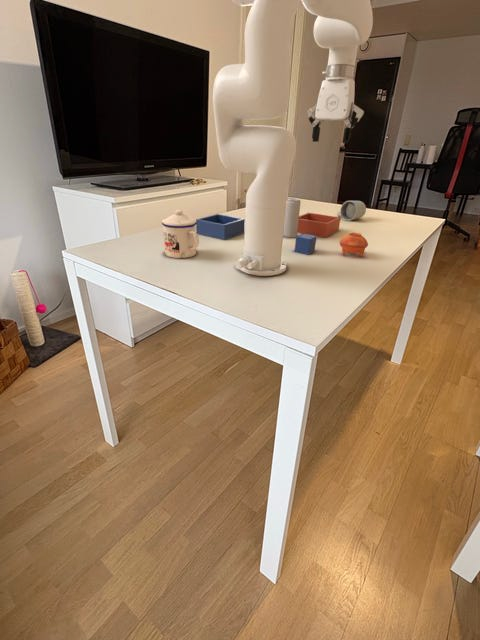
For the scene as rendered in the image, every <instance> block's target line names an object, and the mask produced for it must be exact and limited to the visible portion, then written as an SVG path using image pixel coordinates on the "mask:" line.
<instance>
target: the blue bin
mask: <svg viewBox="0 0 480 640" xmlns="http://www.w3.org/2000/svg"><path fill="white" fill-rule="evenodd" d="M195 221H196V233H197V235H203V236H206V237H211V238H215V239H219V240H223V241H225V240H228V239H230V238H233V237H236V236H238V235H241V234H245V218H241V217H236V216H231V215H226V214H220V213H215V214H211V215H207V216H204V217H200V218H196V219H195Z"/></svg>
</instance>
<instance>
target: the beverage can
mask: <svg viewBox="0 0 480 640" xmlns="http://www.w3.org/2000/svg"><path fill="white" fill-rule="evenodd" d="M300 211H301V198H297V197H287V201H286V212H285V222H284V233H283V238H289V239H294V238H296V236H298V232H297V229H298V220H299V216H300Z"/></svg>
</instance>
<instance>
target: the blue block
mask: <svg viewBox="0 0 480 640" xmlns="http://www.w3.org/2000/svg"><path fill="white" fill-rule="evenodd" d="M317 238H318V236H315V235H309V234H304V233H300V234H299V235H297V236H296V237H295V243H294V244H295V245H294V253H299V254H304V255H311V254H312V253H313V252H315V251H316V244H317Z"/></svg>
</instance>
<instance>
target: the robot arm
mask: <svg viewBox="0 0 480 640" xmlns="http://www.w3.org/2000/svg"><path fill="white" fill-rule="evenodd" d="M230 1H231V3H233V4H235V5H237V6H239V7H247V6H248V7H249V6H250V10H249V12H248V14H247V17H246V21H245V24H244V25H245V26H244V36H243V37H244V63H232V64H228V65H224V66H223V67H222V68H221V69H219V71H218V72H217V73H216V75H215V78H214V81H213V86H212V109H213V118H214V126H215V135H216V144H217V151H218V156H219V160H220V162H221V164H222V166H223V167H224V168H225V169H226V170H229V171H230V172H231V171H232V172H237V173H246V174H254V175H256V177H255V178H254V180H253V181H252V182H251V184H250V185H249V187H248V189H247V191H246V195H245V213H244V219H245V223H244V237H243V239H244V240H243V243H244V244H243V252H242V257H241V258H240V259H238V260H237V261H235V262H234V264H233V265H234V267H235V268H236V270H239V271H240V272H243V273H245V274H249V275H252V276H259V277H270V276H272V277H273V276H278V275H280V274H283V273H284V272H285V271H286V270H287V263H286V262H285V261H284V260H283V259H282V254H283V252H282V251H283V243H284V242H283V241H284V236H283V233H284V222H285V212H286V201H287V198H288V193H289V185H290V178H291V175H292V174H291V173H292V170H293V166H294V163H295V158H296V154H297V140H296V137H295V135H294V133H292V132H291V131H290V130H288V129H287V128H285V127H281V126H273V125H245V120H276V119H280V118H281V117H283V116H284V115H285V114H286V112H287V111H288V107H289V104H290V95H291V94H290V93H291V44H292V43H291V42H292V29H293V25H294V19H295V17H296V13H297V11H298V9H299V6H300V4H301V3H302V4H303V6H304V8H305V10H306V11H307V12H309V13H310V14H311V15H313V16H314V15H315V16H317V17H316V18H315V20H314V23H313V29H312V31H313V39H314V41H315V43H316V45H317V46H318V47H320V48H322V49H329V53H328V60H327V67H326V69H325V70H323V71H322V72H321V76H322V77H324V78H325V79H324V80H322V81H321V86H320V89H319V93H318V97H317V102H316V104H315V105H314V106H313V107H310V108H309V109H307V111H306V114H307V118H308V122H309V123H310V124H311V127H312V135H311V139H312V142H314V143H315V142H316V143H318V142H319V141H320V133H321V127H320V126H321V124H322V123H323V122H324V121H333V122H334V121H337V122H338V121H339V122H344V125H345V128H344V131H343V135H342V144H348V143H349V141H350V140H351V136H352V130H353V128H354V127H355V126H356V125H357V124H358V123H359V122H360V120H361V118H362V117H363V116H364V113H365V111H364V110H363V109H362V108H360V107H359V106H357V105H356V104H355V93H356V92H355V87H356V85H355V84H356V83H355V82H356V81H355V80H354V75H355V74H354V73H355V66H356V60H357V54H358V49H359V46H362V45H364V44H365V43H366V42H367V41H368V40H369V38H370V36H371V34H372V30H373V25H374V16H373V8H372V3H371V0H230ZM353 112H355V114H356V115H355V117H354V118H353V119H352V117H353ZM314 113H315V117H314Z"/></svg>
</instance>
